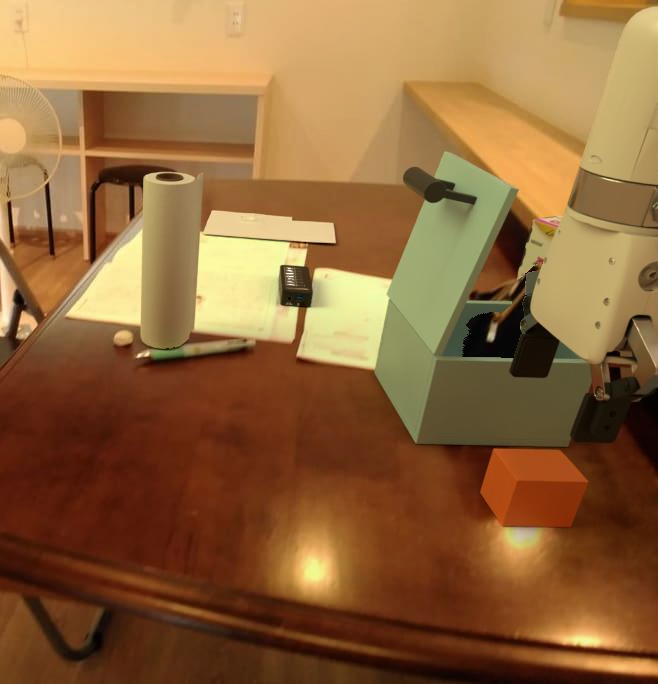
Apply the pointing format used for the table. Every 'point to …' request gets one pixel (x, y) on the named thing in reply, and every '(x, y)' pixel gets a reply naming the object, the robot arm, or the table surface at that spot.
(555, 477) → the block
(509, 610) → the table surface
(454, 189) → the freezer lid
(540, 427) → the box
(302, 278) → the multiport hub
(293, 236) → the paper
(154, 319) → the paper towel roll
